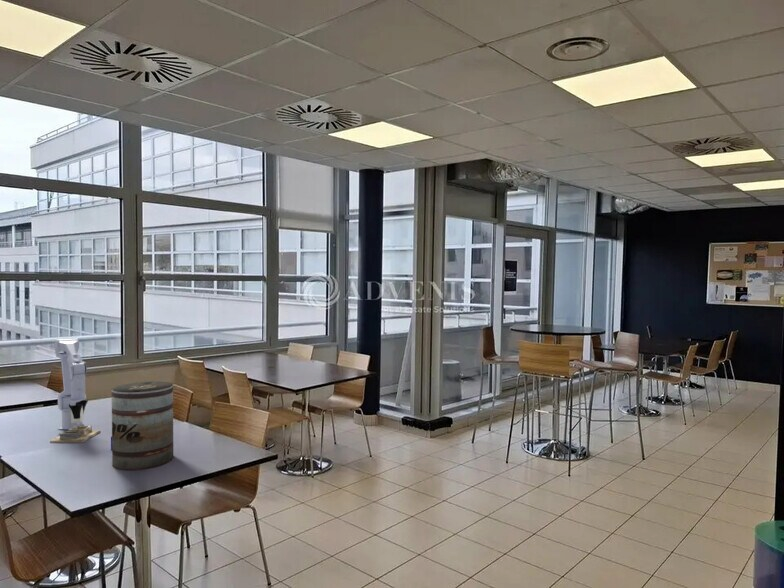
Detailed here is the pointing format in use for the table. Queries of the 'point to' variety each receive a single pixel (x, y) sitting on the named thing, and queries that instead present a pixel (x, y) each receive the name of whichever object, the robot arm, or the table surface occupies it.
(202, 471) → the table surface
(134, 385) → the barrel
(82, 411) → the brushed aluminum block
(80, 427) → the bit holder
